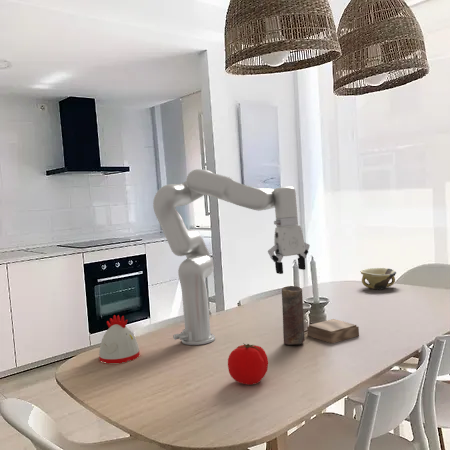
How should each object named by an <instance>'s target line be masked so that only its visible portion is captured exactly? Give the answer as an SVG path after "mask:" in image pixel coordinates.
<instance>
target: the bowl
mask: <svg viewBox="0 0 450 450" xmlns="http://www.w3.org/2000/svg"><path fill="white" fill-rule="evenodd" d="M360 274H361V275H362V278H361V283H362V285H363V286H364V287H366V288H368V289H373V290H385V289H386V288H389V287H391V286H394V284H395V282H396V277H395V276H396V274H397V271H396V270H395V269H391V268H386V267H375V268H366V269H365V268H364V269H361V270H360ZM366 280H367V282H368V283H367V282H366ZM390 281H391V282H390Z"/></svg>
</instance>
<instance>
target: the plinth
mask: <svg viewBox="0 0 450 450" xmlns="http://www.w3.org/2000/svg"><path fill="white" fill-rule="evenodd" d="M359 328H360V327H359V326H358V325H357V324H354V323H350V322H346V321H344V320H339V319H336V318H335V319H334V318H332V319H331V318H330V319H328V320H323V321H320V322H315V323H311V324H308V326H306V332H307V336H308V337H310V338H313V339H317V340H320V341H323V342H325V343H328V344H335V343H338V342H343V341H346V340H348V339H349V340H350V339H353V338H357V337H359V336H360V329H359ZM356 336H357V337H356Z"/></svg>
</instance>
